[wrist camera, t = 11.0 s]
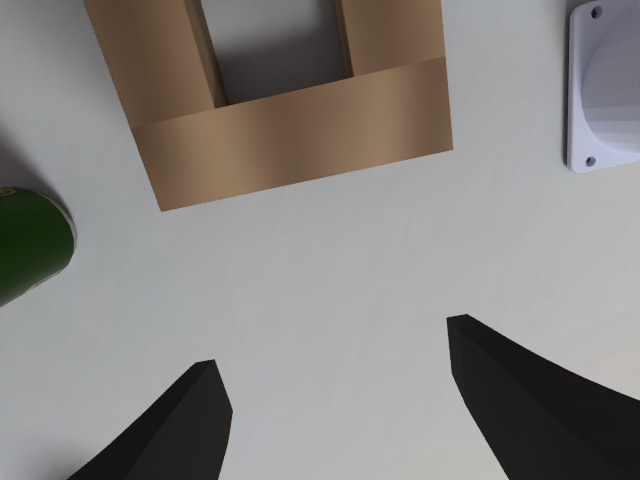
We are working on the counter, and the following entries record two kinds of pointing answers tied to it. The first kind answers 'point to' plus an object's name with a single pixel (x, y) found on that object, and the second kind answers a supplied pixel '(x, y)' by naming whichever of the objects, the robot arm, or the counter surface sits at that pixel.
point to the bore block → (273, 99)
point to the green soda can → (31, 241)
